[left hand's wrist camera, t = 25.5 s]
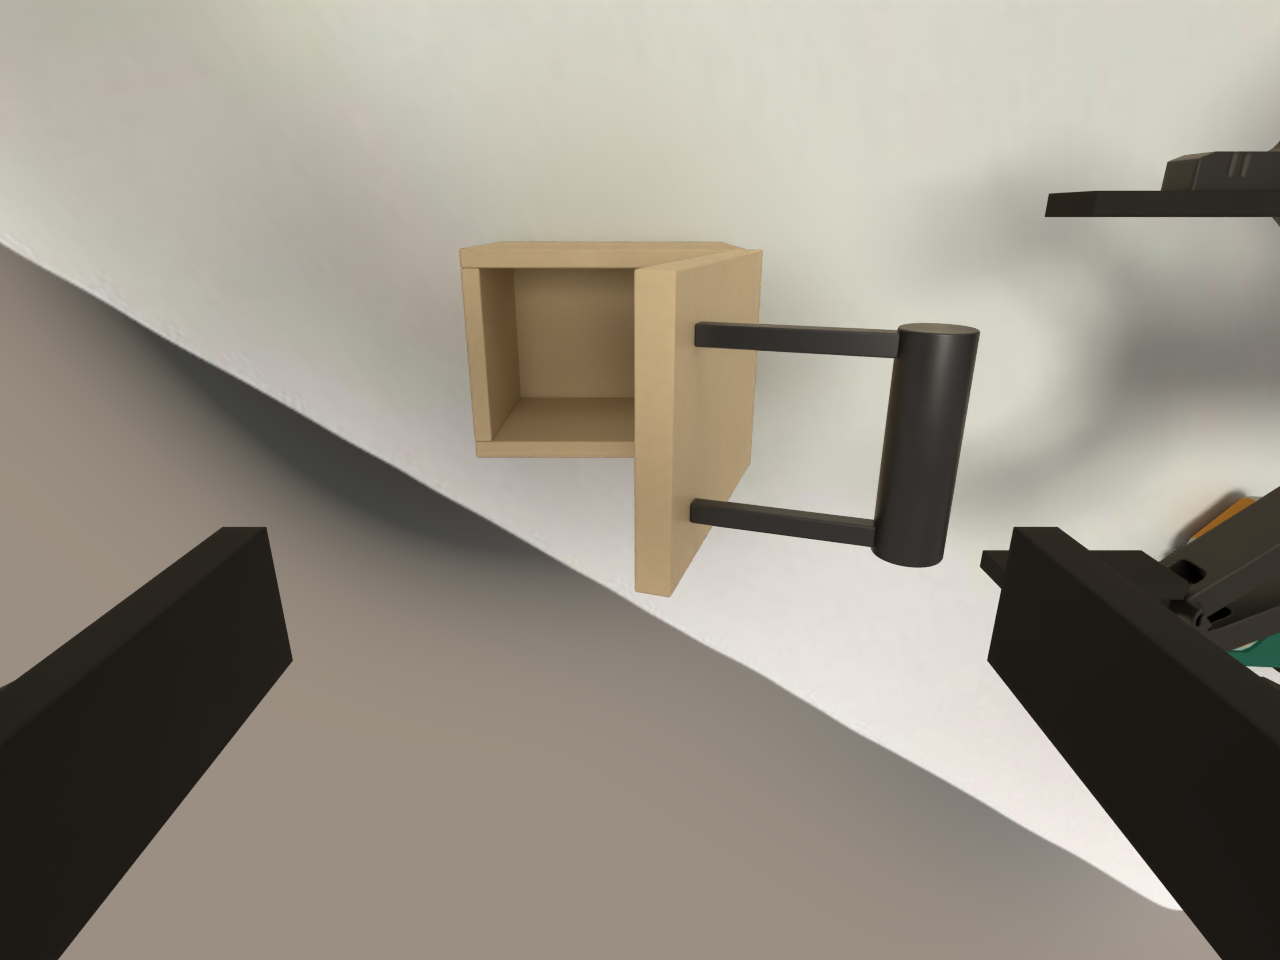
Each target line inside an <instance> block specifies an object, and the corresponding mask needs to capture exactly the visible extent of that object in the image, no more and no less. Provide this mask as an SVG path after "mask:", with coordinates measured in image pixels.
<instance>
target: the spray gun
mask: <svg viewBox="0 0 1280 960" xmlns="http://www.w3.org/2000/svg"><path fill="white" fill-rule="evenodd" d="M1260 498H1262V497H1242V498H1241V499H1240V500H1239V501H1237V502H1236V503H1235V504H1233V505H1232V506H1231V507H1230V508H1228V509H1227V510H1226V511H1225V512H1223V513H1222V514H1221V515H1219V516H1218V517H1217V518H1216V519H1214V520H1213V521H1212V522H1210V523H1209V524H1208V525H1207V526H1205V527H1204V528H1203V529H1201V530H1200V531H1199V532H1198V533H1196V534H1195V535H1194V536H1193V537H1191V539H1190V540H1189V541H1188V543H1190V542H1192V541H1193V540H1195V539H1196V538H1198V537H1200V536H1201V535H1203V534H1204V533H1206V532H1208V531H1209V530H1211V529H1212V528H1214V527H1216V526H1217V525H1219V524H1220V523H1222V522H1224V521H1225V520H1227V519H1228V518H1230V517H1232V516H1233V515H1235V514H1236V513H1238V512H1240V511H1241V510H1243V509H1244V508H1246V507H1248V506H1249V505H1251V504H1252V503H1254V502H1256V501H1257V500H1259V499H1260ZM1188 543H1187V544H1188ZM1187 544H1186V545H1187ZM1191 586H1192V585H1188V587H1191ZM1227 653H1228V654H1230V655H1231V656H1233V657H1234V658H1235V659H1237V660H1238V661H1239V662H1241V663H1242V664H1243V665H1245V666H1256V667H1272V668H1274V669H1275V670H1276V671H1278V672H1279V673H1280V632H1279V633H1277V634H1274V635H1271V636H1269V637H1266V638H1263V639H1261V640H1258V641H1255V642H1253V643H1250V644H1247V645H1245V646H1242V647H1239V648H1237V649H1234V650H1231V651H1228V652H1227Z"/></svg>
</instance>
